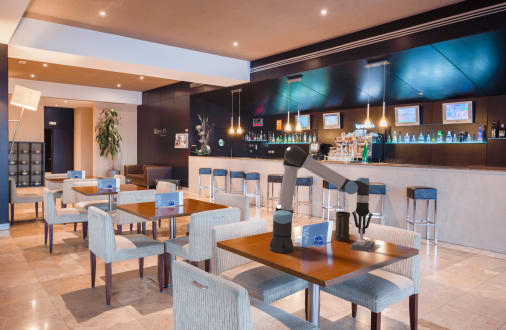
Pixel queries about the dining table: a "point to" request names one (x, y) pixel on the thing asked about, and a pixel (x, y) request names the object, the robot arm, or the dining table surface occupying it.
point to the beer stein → (342, 226)
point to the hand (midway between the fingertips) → (361, 238)
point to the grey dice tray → (363, 248)
